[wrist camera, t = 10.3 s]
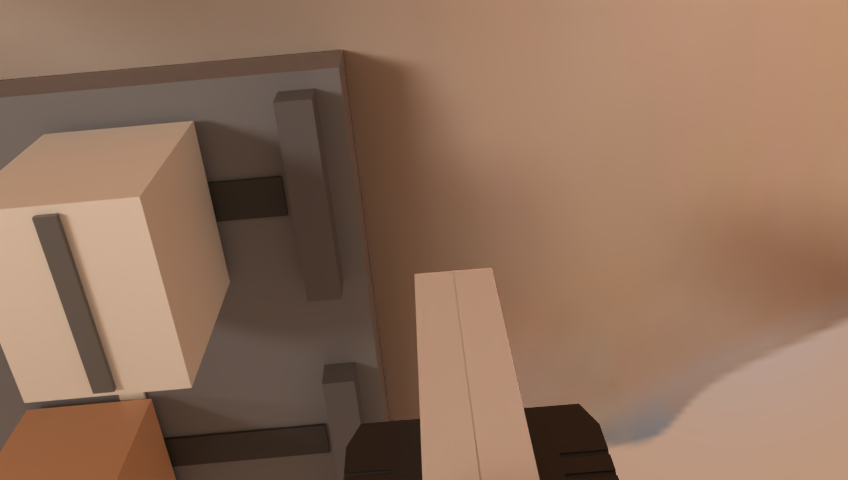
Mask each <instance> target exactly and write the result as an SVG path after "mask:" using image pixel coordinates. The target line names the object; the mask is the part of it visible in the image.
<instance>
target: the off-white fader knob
mask: <svg viewBox="0 0 848 480" xmlns="http://www.w3.org/2000/svg"><path fill="white" fill-rule="evenodd" d="M229 283H230V280H229V276H228V271H227V267H226V262H225V258H224V253H223V249H222V245H221V240H220V236H219V231H218V227H217V223H216V218H215V214H214V209H213V205H212V200H211V196H210V192H209V187H208V183H207V178H206V174H205V169H204V165H203V161H202V156H201V152H200V147H199V143H198V139H197V134H196V130H195V125H194V121H185V122H174V123H163V124H152V125H140V126H129V127H118V128H107V129H96V130H84V131H73V132H62V133H51V134H43V135H42V136H41V137H40V138H39V139H37V140H36V141H35V142H34V143H33V144H31V145H30V146H29V147H28V148H27V149H25V150H24V151H23V152H22V153H21V154H19V155H18V156H17V157H16V158H15V159H13V160H12V161H11V162H10V163H9V164H7V165H6V166H5V167H4V168H3V169H1V170H0V344H1V347H2V349H3V351H4V354H5V356H6V359H7V361H8V364H9V366H10V369H11V371H12V374H13V376H14V379H15V381H16V384H17V386H18V389H19V391H20V394H21V396H22V399H23V401H24V403H31V402H42V401H53V400H64V399H75V398H86V397H97V396H108V395H120V394H131V393H142V392H153V391H164V390H175V389H186V388H192V386H193V383H194V380H195V377H196V375H197V372H198V369H199V366H200V364H201V361H202V358H203V355H204V353H205V350H206V347H207V344H208V342H209V339H210V336H211V333H212V330H213V328H214V325H215V322H216V319H217V317H218V314H219V311H220V308H221V306H222V303H223V300H224V297H225V294H226V292H227V289H228V286H229Z"/></svg>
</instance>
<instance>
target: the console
mask: <svg viewBox="0 0 848 480" xmlns="http://www.w3.org/2000/svg"><path fill="white" fill-rule="evenodd" d="M185 121H194V125H195V130H196V134H197V139H198V143H199V147H200V152H201V156H202V161H203V165H204V169H205V174H206V178H207V183H208V187H209V192H210V196H211V200H212V205H213V209H214V214H215V218H216V223H217V227H218V231H219V236H220V240H221V245H222V249H223V253H224V258H225V262H226V267H227V271H228V276H229V280H230V283H229V286H228V289H227V292H226V294H225V297H224V300H223V303H222V306H221V308H220V311H219V314H218V317H217V319H216V322H215V325H214V328H213V330H212V333H211V336H210V339H209V342H208V344H207V347H206V350H205V353H204V355H203V358H202V361H201V364H200V366H199V369H198V372H197V375H196V377H195V380H194V383H193V386H192V388H186V389H175V390H164V391H153V392H142V393H131V394H120V395H108V396H97V397H86V398H75V399H64V400H53V401H42V402H31V403H24V401H23V399H22V396H21V394H20V391H19V389H18V386H17V384H16V381H15V379H14V376H13V374H12V371H11V369H10V366H9V364H8V361H7V359H6V356H5V354H4V351H3V349H2V347H1V344H0V451H1V449H2V448H3V446H4V445H5V443H6V442H7V440H8V439H9V437H10V435H11V434H12V432H13V431H14V429H15V428H16V426H17V425H18V423H19V421H20V420H21V418H22V417H23V415H24V414H25V412H26V410H32V409H43V408H54V407H65V406H76V405H87V404H98V403H109V402H120V401H131V400H142V399H152V402H153V406H154V409H155V412H156V416H157V419H158V422H159V425H160V429H161V432H162V435H163V438H164V442H165V445H166V448H167V451H168V455H169V458H170V461H171V465H172V468H173V471H174V474H175V478H176V480H343V478H344V467H345V455H346V447H347V445H348V443H349V442H350V440H351V439H352V437H353V435H354V434H355V432H356V431H357V429H358V428H359V426H360V424H363V423H376V422H388V421H390V419H389V411H388V403H387V395H386V387H385V379H384V371H383V364H382V356H381V348H380V340H379V332H378V324H377V316H376V309H375V301H374V293H373V285H372V277H371V269H370V261H369V253H368V246H367V238H366V230H365V222H364V214H363V206H362V198H361V191H360V183H359V175H358V167H357V159H356V151H355V143H354V135H353V128H352V120H351V112H350V104H349V96H348V88H347V80H346V73H345V65H344V57H343V50H334V51H323V52H312V53H300V54H289V55H278V56H267V57H255V58H244V59H233V60H222V61H211V62H199V63H188V64H177V65H166V66H154V67H143V68H132V69H121V70H110V71H98V72H87V73H76V74H65V75H53V76H42V77H31V78H20V79H9V80H0V170H1V169H3V168H4V167H5V166H6V165H7V164H9V163H10V162H11V161H12V160H13V159H15V158H16V157H17V156H18V155H19V154H21V153H22V152H23V151H24V150H25V149H27V148H28V147H29V146H30V145H31V144H33V143H34V142H35V141H36V140H37V139H39V138H40V137H41V136H42V135H43V134H51V133H62V132H73V131H84V130H96V129H107V128H118V127H129V126H140V125H152V124H163V123H174V122H185Z"/></svg>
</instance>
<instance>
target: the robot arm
mask: <svg viewBox="0 0 848 480" xmlns="http://www.w3.org/2000/svg"><path fill="white" fill-rule="evenodd" d="M414 277H415V302H416V328H417V353H418V379H419V405H420V419H412V420H400V421H388V422H376V423H363V424H360V426H359V428H358V429H357V431H356V432H355V434H354V435H353V437H352V439H351V440H350V442H349V443H348V445H347V447H346V455H345V467H344V478H343V480H619V479H618V476H617V475H616V472H615V467H614V465H613V462H612V459H611V456H610V455H609V453H608V447H607V445H606V442H605V439H604V436H603V433H602V430H601V428H600V425H599V423H598V422H597V421H596V420H595V419H594V418H593V417H592V416H591V415H590V414H589V413H588V412H587V411H586V410H585V409H584V408H583V407H582V406H581V405H580V404H570V405H558V406H546V407H534V408H523V403H522V399H521V395H520V390H519V386H518V381H517V377H516V372H515V368H514V363H513V359H512V355H511V350H510V346H509V341H508V337H507V332H506V328H505V323H504V319H503V315H502V310H501V306H500V301H499V297H498V292H497V288H496V284H495V279H494V275H493V270H492V267H491V268H479V269H467V270H455V271H443V272H432V273H420V274H414Z"/></svg>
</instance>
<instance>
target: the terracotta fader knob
mask: <svg viewBox="0 0 848 480" xmlns="http://www.w3.org/2000/svg"><path fill="white" fill-rule="evenodd" d="M0 480H176V478H175V474H174V471H173V468H172V465H171V461H170V458H169V455H168V451H167V448H166V445H165V442H164V438H163V435H162V432H161V429H160V425H159V422H158V419H157V416H156V412H155V409H154V406H153V402H152V399H142V400H131V401H120V402H109V403H98V404H87V405H76V406H65V407H54V408H43V409H32V410H26V412H25V414H24V415H23V417H22V418H21V420H20V421H19V423H18V425H17V426H16V428H15V429H14V431H13V432H12V434H11V435H10V437H9V439H8V440H7V442H6V443H5V445H4V446H3V448H2V449H1V451H0Z"/></svg>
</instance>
